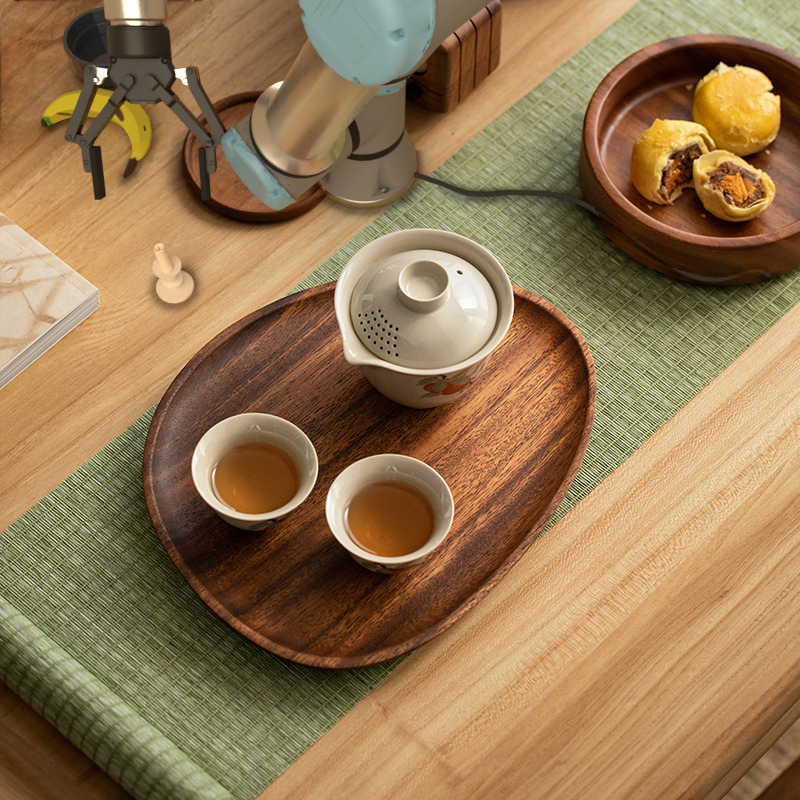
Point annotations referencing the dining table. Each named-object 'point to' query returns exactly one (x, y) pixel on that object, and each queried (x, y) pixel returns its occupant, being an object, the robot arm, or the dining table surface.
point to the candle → (171, 277)
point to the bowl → (88, 42)
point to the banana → (125, 117)
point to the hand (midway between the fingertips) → (153, 199)
